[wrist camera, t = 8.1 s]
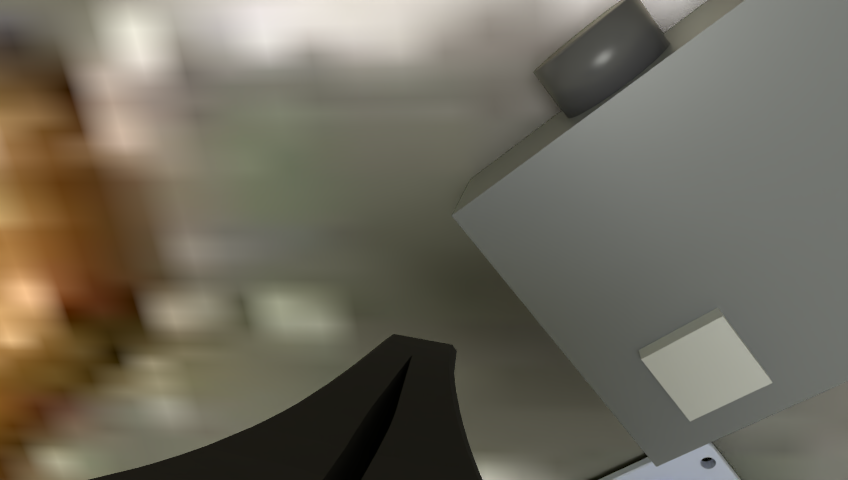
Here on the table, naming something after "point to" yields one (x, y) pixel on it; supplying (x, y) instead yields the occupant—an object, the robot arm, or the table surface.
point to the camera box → (685, 214)
